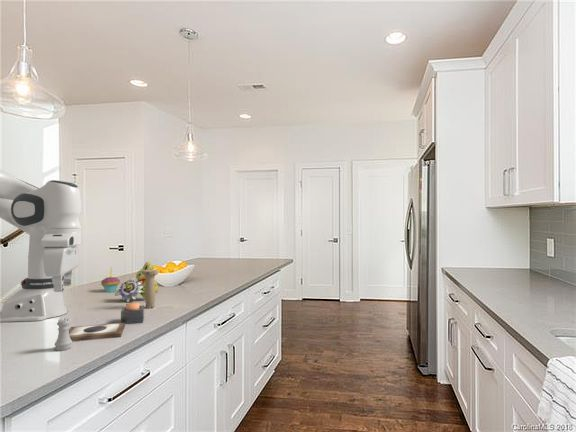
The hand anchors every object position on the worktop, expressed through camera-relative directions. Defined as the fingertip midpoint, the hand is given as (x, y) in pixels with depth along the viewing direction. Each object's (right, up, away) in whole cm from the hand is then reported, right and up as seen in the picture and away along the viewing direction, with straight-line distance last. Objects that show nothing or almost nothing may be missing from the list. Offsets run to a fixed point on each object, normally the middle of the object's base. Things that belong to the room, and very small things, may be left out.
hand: (63, 288), depth 104 cm
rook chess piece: (0, -17, 0) cm, 17 cm away
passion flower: (-6, -18, +62) cm, 65 cm away
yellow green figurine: (-7, -18, +80) cm, 82 cm away
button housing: (+8, -17, +28) cm, 33 cm away
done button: (+8, -14, +28) cm, 32 cm away
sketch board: (+2, -17, +13) cm, 21 cm away
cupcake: (-26, -18, +83) cm, 89 cm away
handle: (+6, -17, +48) cm, 52 cm away
